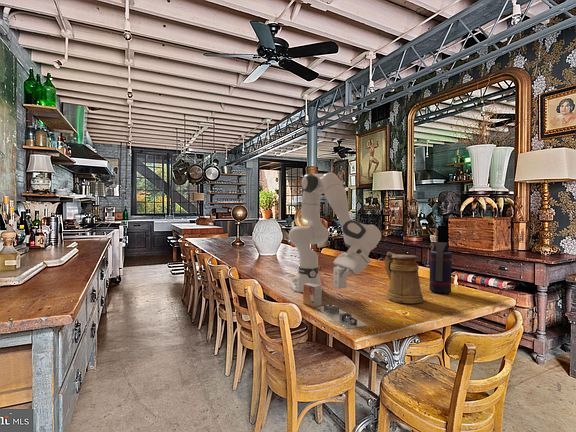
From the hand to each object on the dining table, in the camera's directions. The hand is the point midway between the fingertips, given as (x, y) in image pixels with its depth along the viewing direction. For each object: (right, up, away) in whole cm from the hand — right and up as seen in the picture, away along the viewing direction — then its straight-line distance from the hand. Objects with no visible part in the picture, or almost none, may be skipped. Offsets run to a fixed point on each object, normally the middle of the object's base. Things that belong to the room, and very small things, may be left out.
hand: (338, 275), depth 153 cm
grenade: (+67, -18, +44) cm, 83 cm away
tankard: (+39, -18, +31) cm, 53 cm away
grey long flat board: (0, -19, +1) cm, 19 cm away
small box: (-11, -19, +19) cm, 29 cm away
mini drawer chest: (+1, -5, 0) cm, 5 cm away
